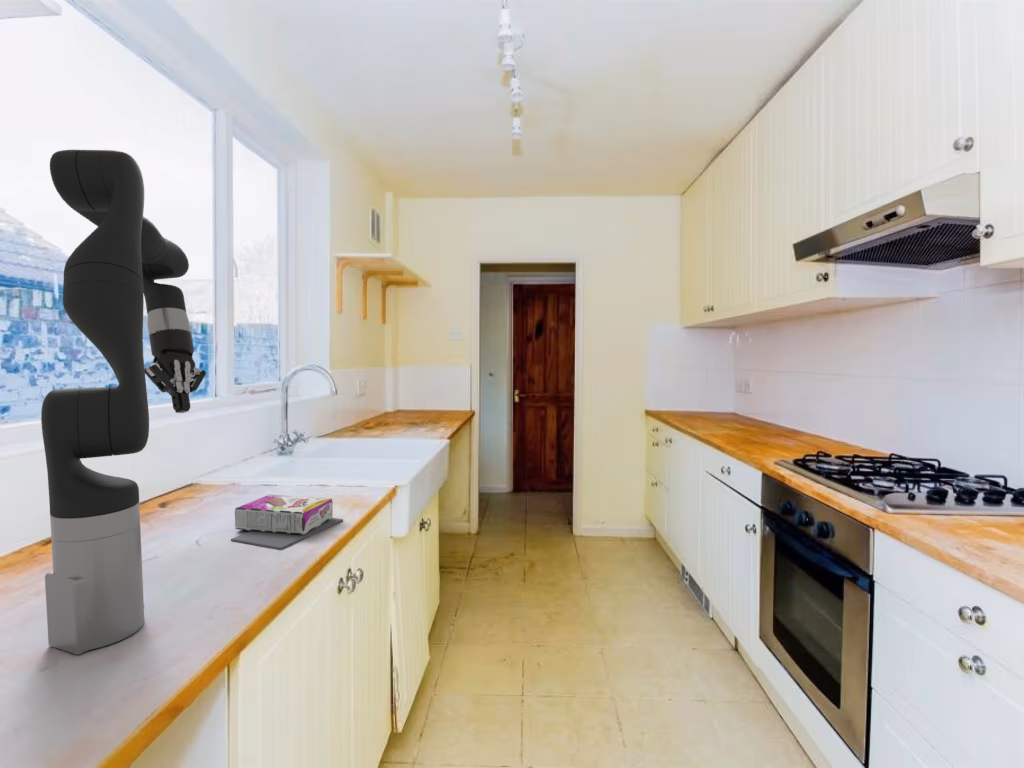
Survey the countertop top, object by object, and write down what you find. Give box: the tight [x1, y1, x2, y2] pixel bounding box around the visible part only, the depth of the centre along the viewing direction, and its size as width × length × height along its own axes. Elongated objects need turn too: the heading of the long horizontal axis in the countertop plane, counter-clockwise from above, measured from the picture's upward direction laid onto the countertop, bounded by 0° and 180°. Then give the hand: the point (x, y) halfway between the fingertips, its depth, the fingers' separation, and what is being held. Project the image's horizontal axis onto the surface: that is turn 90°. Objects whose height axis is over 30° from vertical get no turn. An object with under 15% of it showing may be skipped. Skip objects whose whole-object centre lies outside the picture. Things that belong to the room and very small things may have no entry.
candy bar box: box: [234, 494, 333, 535], centre depth 111 cm, size 11×5×16 cm
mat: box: [230, 517, 344, 551], centre depth 108 cm, size 18×13×1 cm
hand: (182, 411), depth 106 cm, fingers closed
